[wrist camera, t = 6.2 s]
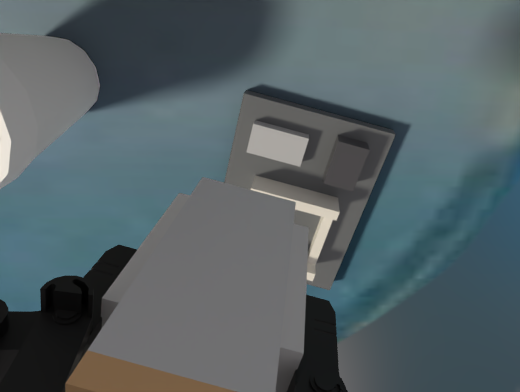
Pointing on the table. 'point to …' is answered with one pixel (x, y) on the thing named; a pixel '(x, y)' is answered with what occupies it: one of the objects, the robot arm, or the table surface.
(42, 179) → the table surface
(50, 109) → the foam cup
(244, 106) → the board
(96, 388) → the plug
